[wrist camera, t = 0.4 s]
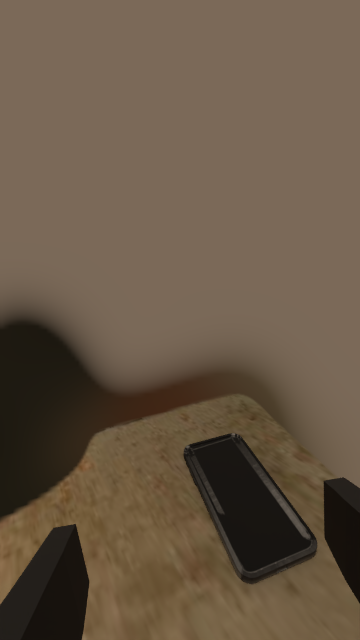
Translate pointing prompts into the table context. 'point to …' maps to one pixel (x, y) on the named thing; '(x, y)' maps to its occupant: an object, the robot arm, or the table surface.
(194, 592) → the table surface
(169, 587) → the table surface
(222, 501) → the phone
